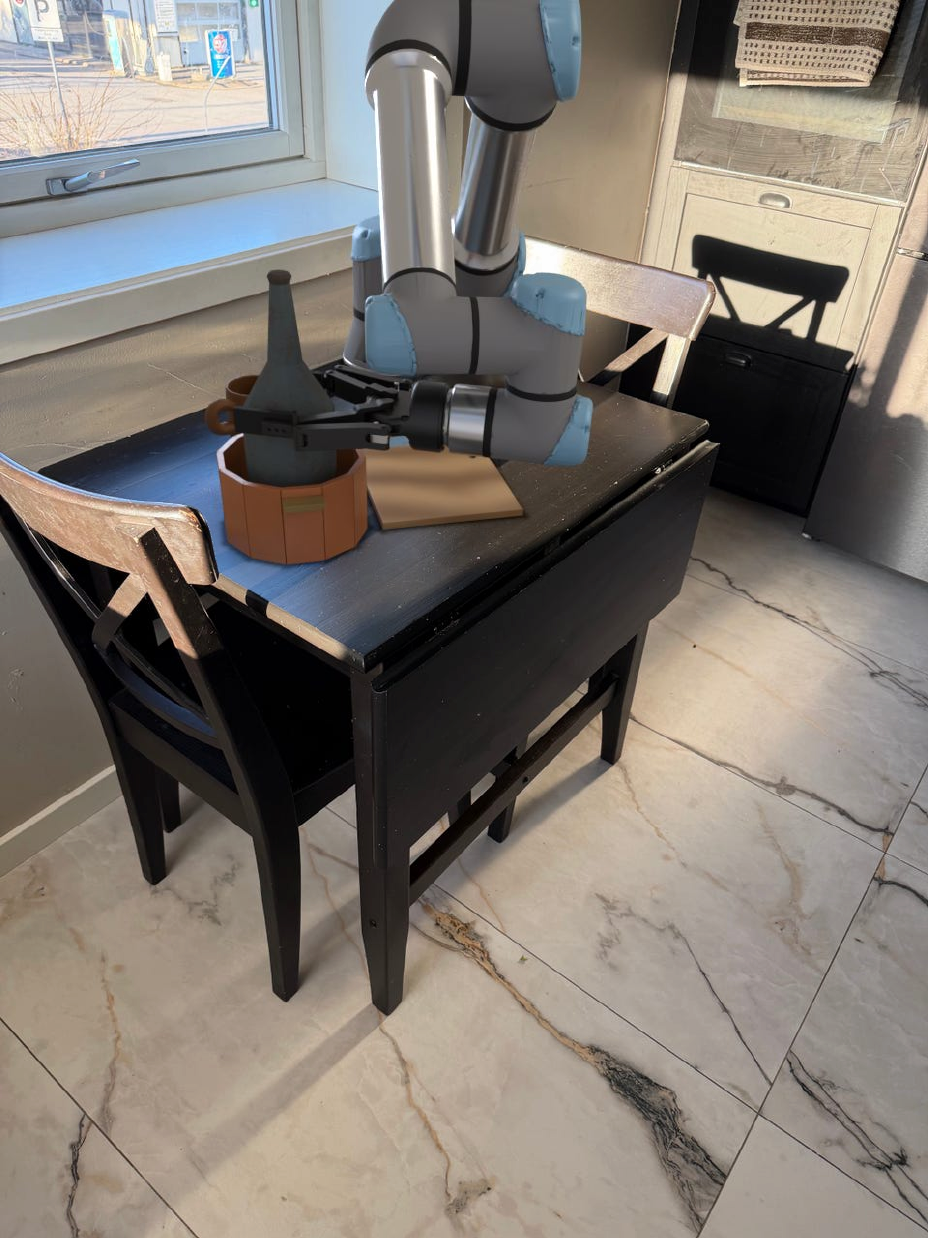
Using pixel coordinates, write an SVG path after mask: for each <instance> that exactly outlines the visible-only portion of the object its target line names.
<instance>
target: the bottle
mask: <svg viewBox="0 0 928 1238" xmlns="http://www.w3.org/2000/svg"><path fill="white" fill-rule="evenodd" d="M266 279H267V281H268V307H267V308H268V310H267V352H266V354H267V355H266V361H265V365H264V366H263V367H262V370H261V372H260V373H259V374H258V375H259V377H258V379H257V381H256V383H255V384H254V386H253V388H252V390H251V392H250V394H249V396H248V397H247V399H246V401H245V403H244V405H243V407H252V408H261V409H271V410H280V411H289V412H292V411H295V410H296V411H297V413H298V414H299V417H300V416H307V415H314V414H322V413H329V412H336V406H335V403H334V402H333V400H332V398H329V396H328V395H327V393H326V390H325V391H324V389H323V388H322V386H321V385H320V383H319V382H318V381H317V379H316V378H315V376H314V375H313V374H312V372H311V371H312V370H311V369H310V368H309V366H308V365H307V363H306V362H305V361H304V359H303V354H302V350H301V349H302V347H301V342H300V335H299V329H298V324H297V318H296V311H295V306H294V298H293V294H292V287H291V279H292V274H291V273H290V271H288V270H286V269H271V270H269V271H268V272H267V275H266ZM310 370H311V371H310ZM243 437H244V446H245V456H246V466H247V475H248V482H252V483H258V484H264V485H269V486H275V487H281V488H283V487H294V486H305V485H317V484H321V483H324V482H326V481H329V480H331V479H334V478H336V477H337V456H336V450H321V451H296V450H295V448H294V440H293V439H292V438H283V437H274V436H264V435H255V434H246V433H243Z"/></svg>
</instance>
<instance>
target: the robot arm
mask: <svg viewBox="0 0 928 1238" xmlns="http://www.w3.org/2000/svg"><path fill="white" fill-rule="evenodd" d="M580 5H581V4H580V0H393V1H392V2H391V3H390V4H389V5H388V6H387V8H386V9H385V11H384V12H383V14H382V15H381V16H380V19H379V21H378V22H377V24H376V26H375V28H374V29H373V32H372V35H371V37H370V40H369V43H368V46H367V50H366V57H365V61H364V90H365V97H366V99H367V102H368V104H369V105H370V108H372V110H373V111H374V112H375V113H374V114H375V137H376V163H377V181H378V182H377V185H378V186H377V187H378V188H377V189H378V210H379V211H378V212H379V213H378V215H374V216H370V217H368V218H365V219H363V220H362V221H360V222H358V223H357V224H356V225H355V227H354V229H353V231H352V234H351V237H352V238H351V252H350V260H351V261H352V322H351V325H350V329H349V332H348V335H347V338H346V341H345V345H344V349H343V352H342V358H343V359H342V361H343V363H342V364H337V365H336V364H335V366H334V369H327V370H325V371H319V370H311V369H310V371H311V372H312V374H313V375H314V376H315V378H316V379H317V381H318V382H319V383H320V385H321V386H322V388H323V389H324V391H325V392H326V393H327V395H328V396H329V398H330V399H332V398H334V397H336V398H338V399H341V400H343V401H345V402H348V403H350V404H352V405H354V406H353V407H352V408H351V409H346V410H345V409H344V410H338V411H335V412H329V413H322V414H314V415H307V416H300V417H299V414H298V413H297V411H296V410H295V411H292V412H289V411H280V410H271V409H261V408H252V407H243V406H234V408H233V416H234V425H235V432H237V433H246V434H255V435H264V436H274V437H283V438H292V439H293V440H294V448H295V450H296V451H321V450H347V449H374V450H382V451H386V450H389V449H390V447H391V446H390V442H391V440H390V439H391V438H395V437H397V438H398V437H405V438H406V439H407V440H408V446H409V445H410V447H411V448H412V449H413V450H418V451H427V452H436V453H440V452H441V451H443V450H444V448H445V447H447V449H448V451H449V453H451V454H459V455H468V456H469V457H470V458H473V459H474V458H475V457H476V456H477V457H486V458H490V459H495V460H497V459H498V460H505V461H512V462H521V463H530V464H537V465H540V466H542V467H543V466H555V467H556V466H557V467H577V466H580V465H582V463H584V461H585V460H586V458H587V454H588V450H589V449H588V448H589V442H590V435H591V426H592V418H593V411H594V403H593V401H592V400H591V398H589V397H586V396H582V395H581V394H578V388H577V383H578V377H579V370H580V363H581V357H582V351H583V350H582V349H583V343H584V337H585V335H586V330H587V329H586V316H587V299H588V298H587V297H588V296H587V290H586V288H585V286H583V284H582V283H581V282H580V281H579V280H577V279H576V278H574V277H572V276H568V275H565V274H561V273H555V272H543V271H541V272H535V273H525V274H524V271H525V270H526V264H527V263H526V262H527V243H526V237H525V235H524V233H523V231H522V230H521V229H519V228H518V225H517V223H516V221H515V220H516V217H517V213H518V210H519V209H518V208H519V205H520V200H521V198H522V197H521V196H522V192H523V188H524V184H525V180H526V176H527V172H528V168H529V164H530V160H531V156H532V152H533V148H534V144H535V140H536V137H537V132H538V129H539V128H541V127H542V126H544V125H545V124H547V122H548V121H549V120H550V119H551V117H552V116H553V114H554V113H555V110H556V108H557V107H556V106H557V102H560V103H565V102H566V101H572V100H574V99H575V98H576V97H577V94H578V92H579V84H580V77H581V64H582V18H581V17H582V15H581V6H580ZM452 97H463V98H464V102H465V103H466V106H467V108H468V110H469V111H470V112H471V117H470V122H469V123H470V124H469V131H468V137H467V142H466V143H467V144H466V150H465V156H464V161H463V163H464V164H463V169H462V176H461V182H460V189H459V195H458V200H457V201H458V202H457V208H456V209H455V210H453V211H452V203H451V189H450V188H451V187H450V186H451V185H450V172H449V157H448V142H447V128H446V127H447V126H446V111H445V110H446V108H447V107H448V105H449V103H450V101H451V99H452ZM427 375H476V376H477V375H478V376H481V375H483V376H484V375H485V376H505V380H504V387H505V388H499V387H495V386H494V387H493V386H486V385H477V384H476V385H475V384H468V383H467V384H466V383H459V382H458V383H455V385H454V386H453V388H451V386H450V385H449V384H448V382H441V381H432V380H422V379H421V378H423V377H425V376H427ZM418 379H420V380H418ZM415 380H417V381H416V382H415V383H414V385H413V381H415Z"/></svg>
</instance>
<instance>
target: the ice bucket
mask: <svg viewBox="0 0 928 1238" xmlns="http://www.w3.org/2000/svg"><path fill="white" fill-rule="evenodd" d="M215 456H216V461H217V463H216V464H217V470H218V471H217V472H218V479H219V487H220V494H221V502H222V511H223V518H224V526H225V533H226V540H227V542H228V544H229V545H231V546H232V547H234V548H235V549H237V550H238V551H240V552H241V553H242V554H243V555H245V556H247V557H248V558H251V559H253V560H254V559H255V560H259V561H264V562H269V563H270V562H271V563H275V564H281V565H287V566H288V565H297V564H307V563H315V562H324V561H328V560H330V559H332V558H334V557H336V556H338V555H340V554H342V553H344V552H346V551H349V550H352V549H354V548H355V547H356V546H357V545H358V544H359V542H360V541H361V539H362V537H363V536H364V534H365V533H366V531H367V530H368V492H367V472H366V456H365V453H364V451H363V449H347V450H336V456H337V477H336V478H334V479H331V480H329V481H326V482H324V483H321V484H317V485H305V486H294V487H283V488H281V487H275V486H269V485H264V484H258V483H252V482H248V475H247V466H246V456H245V446H244V437H243V433H242V434H239V435H236V436H234V437H232V438H230V439H228V440H227V442H225V443H224V444H223V445H222V446H221V447H220V448H219V449H218V450H217V451H216V452H215Z"/></svg>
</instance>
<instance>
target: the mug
mask: <svg viewBox="0 0 928 1238" xmlns="http://www.w3.org/2000/svg"><path fill="white" fill-rule="evenodd" d="M259 375H260V374H244V375H240V376H236V377H234V378H232V379H230V380H228V382H227V383H226V385H225V398H224V397H223V398H222V397H219V398H216V399H214V400H212V401H211V402H210V403H209V404H208V405H207V407H206V409H205V413H204V421H205V424H206V427H207V429H208V430H209V431H210V432H211V433H212V434H214V435H216V436H220V437H223V436H229V438H230V439H231V438H232V437H234V436H236V435H239V434H242V433H237V432H235V425H234V416H233V408H234V406H243V405H244V403H245V401H246V399H247V397H248V396H249V394H250V392H251V390H252V388H253V386H254V384H255V383H256V381H257V379H258V377H259ZM221 411H224V412H226V413H227V421H223V422H220V420H219V418H218V415H219V413H220V412H221Z"/></svg>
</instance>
